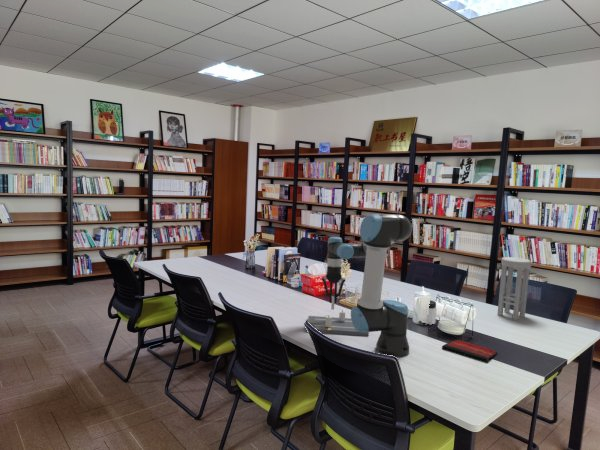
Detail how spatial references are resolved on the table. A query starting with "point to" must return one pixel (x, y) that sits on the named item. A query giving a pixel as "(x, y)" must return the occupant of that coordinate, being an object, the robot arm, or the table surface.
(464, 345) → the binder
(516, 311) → the stool
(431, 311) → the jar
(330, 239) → the robot arm
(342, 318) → the fader
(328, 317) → the fader
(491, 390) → the table surface
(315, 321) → the console
